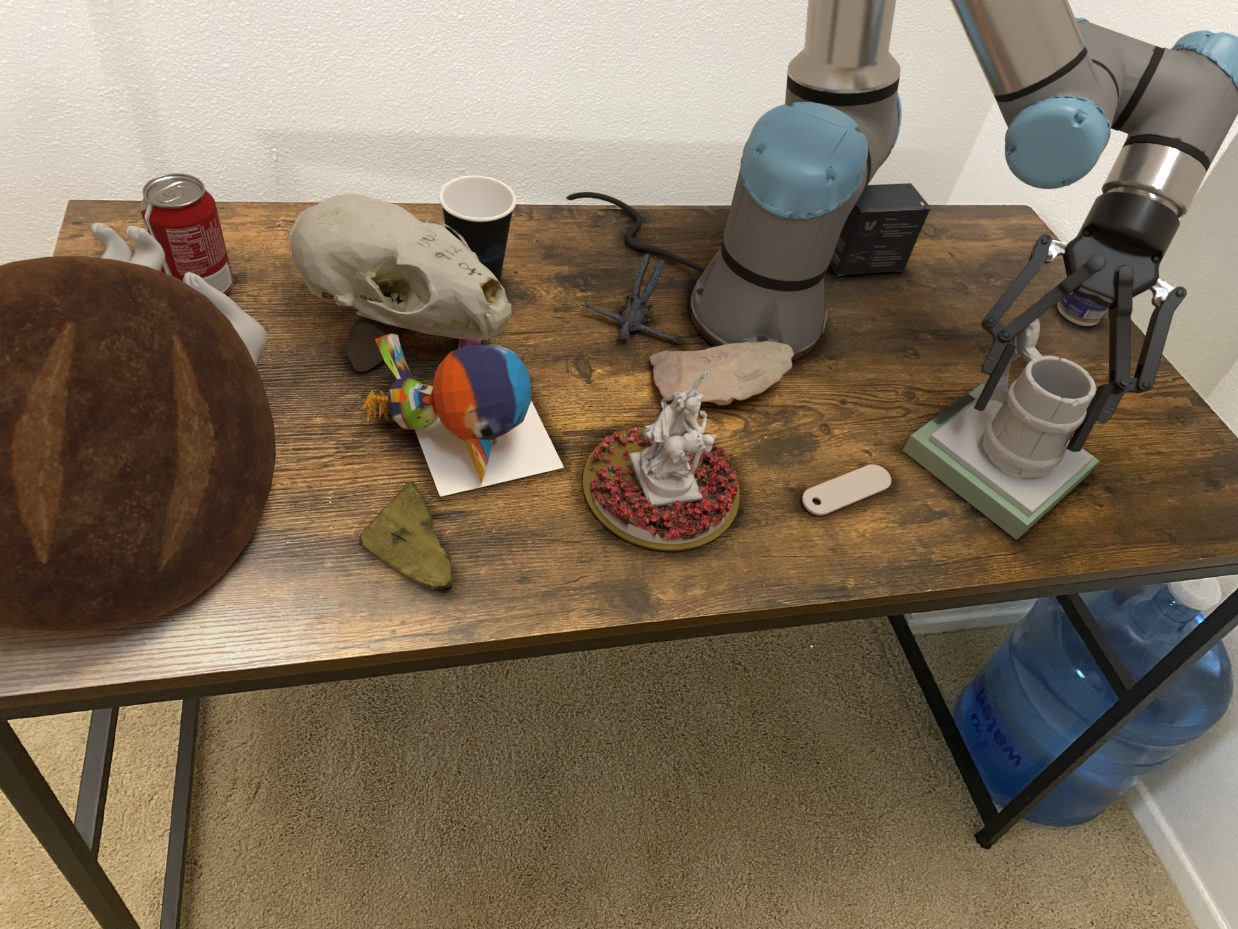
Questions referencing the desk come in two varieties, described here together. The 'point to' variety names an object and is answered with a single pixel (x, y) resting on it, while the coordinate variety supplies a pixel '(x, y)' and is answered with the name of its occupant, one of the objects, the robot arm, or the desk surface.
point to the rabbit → (154, 257)
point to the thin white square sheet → (508, 459)
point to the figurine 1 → (368, 340)
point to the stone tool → (723, 370)
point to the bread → (121, 444)
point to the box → (880, 230)
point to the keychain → (846, 489)
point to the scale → (991, 467)
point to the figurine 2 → (637, 303)
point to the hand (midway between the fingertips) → (1025, 429)
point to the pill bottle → (1081, 310)
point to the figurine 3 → (664, 480)
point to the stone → (409, 541)
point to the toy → (458, 395)
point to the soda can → (187, 229)
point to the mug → (1036, 409)
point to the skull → (397, 268)
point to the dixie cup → (480, 216)
